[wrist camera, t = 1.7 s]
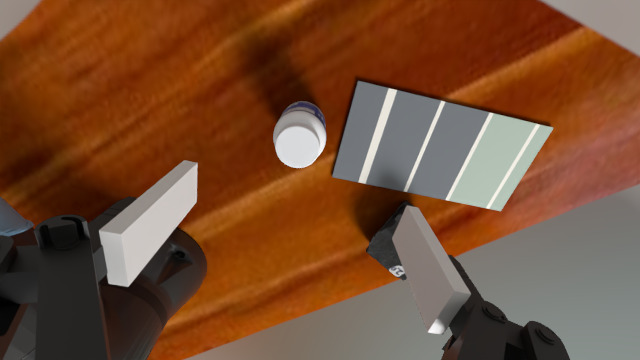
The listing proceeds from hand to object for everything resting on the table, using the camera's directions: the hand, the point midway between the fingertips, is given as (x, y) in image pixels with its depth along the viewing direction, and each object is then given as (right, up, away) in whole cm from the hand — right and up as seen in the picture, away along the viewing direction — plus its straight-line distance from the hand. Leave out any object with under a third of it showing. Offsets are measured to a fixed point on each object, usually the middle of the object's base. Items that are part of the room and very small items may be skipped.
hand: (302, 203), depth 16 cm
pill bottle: (-1, +8, +15) cm, 17 cm away
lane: (+16, +5, +16) cm, 23 cm away
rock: (+11, -6, +22) cm, 26 cm away
